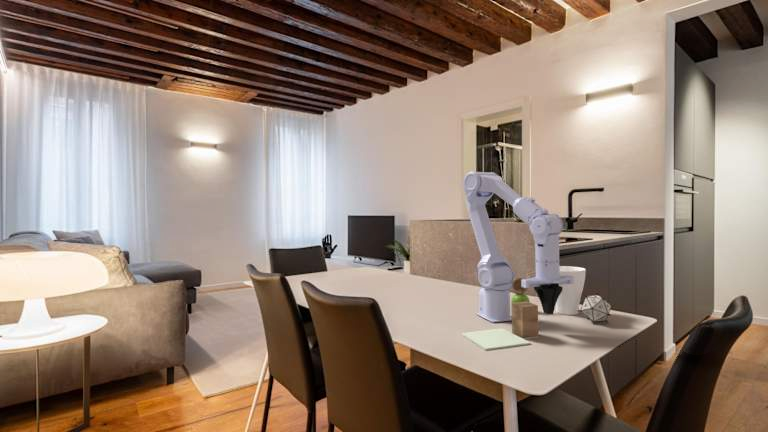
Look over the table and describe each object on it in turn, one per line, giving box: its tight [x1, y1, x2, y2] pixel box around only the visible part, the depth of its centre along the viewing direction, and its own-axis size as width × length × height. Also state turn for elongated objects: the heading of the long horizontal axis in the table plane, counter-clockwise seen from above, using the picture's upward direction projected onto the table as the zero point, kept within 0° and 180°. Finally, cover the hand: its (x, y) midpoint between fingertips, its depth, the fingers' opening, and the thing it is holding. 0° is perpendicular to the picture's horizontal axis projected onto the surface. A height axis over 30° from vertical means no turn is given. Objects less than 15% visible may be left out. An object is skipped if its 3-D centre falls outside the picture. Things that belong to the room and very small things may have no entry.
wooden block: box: [510, 301, 539, 340], centre depth 98 cm, size 4×4×8 cm
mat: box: [460, 327, 532, 351], centre depth 95 cm, size 12×12×1 cm
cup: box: [555, 265, 587, 316], centre depth 118 cm, size 10×10×14 cm
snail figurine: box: [511, 272, 533, 303], centre depth 122 cm, size 5×6×12 cm
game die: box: [578, 292, 615, 325], centre depth 107 cm, size 9×8×10 cm
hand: (548, 313), depth 100 cm, fingers closed
